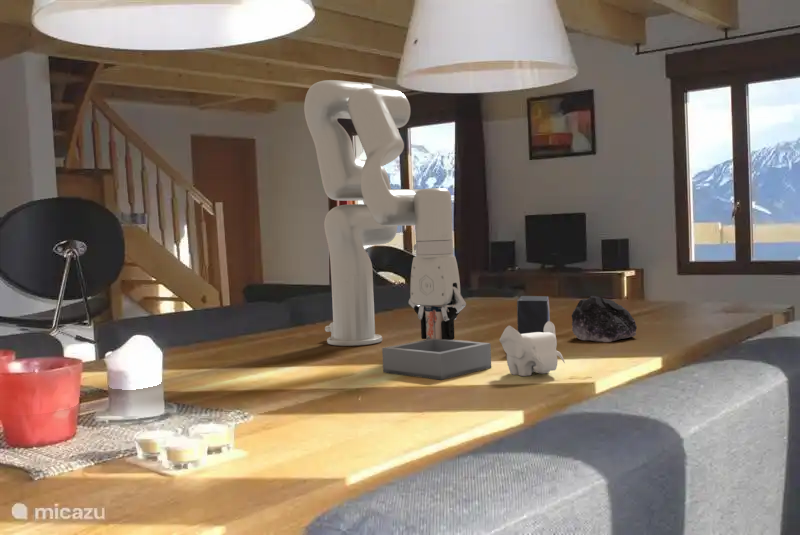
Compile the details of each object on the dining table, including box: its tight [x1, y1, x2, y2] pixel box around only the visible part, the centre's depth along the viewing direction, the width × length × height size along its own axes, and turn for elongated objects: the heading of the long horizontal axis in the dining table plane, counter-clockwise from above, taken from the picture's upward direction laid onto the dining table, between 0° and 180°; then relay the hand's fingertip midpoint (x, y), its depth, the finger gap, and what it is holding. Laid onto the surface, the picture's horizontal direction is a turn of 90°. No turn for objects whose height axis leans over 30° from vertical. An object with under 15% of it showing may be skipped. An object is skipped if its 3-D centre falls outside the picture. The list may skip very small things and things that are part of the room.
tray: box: [381, 338, 492, 381], centre depth 158 cm, size 14×14×4 cm
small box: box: [516, 295, 551, 334], centre depth 181 cm, size 11×6×10 cm, turn 168°
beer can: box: [425, 304, 449, 340], centre depth 176 cm, size 5×5×12 cm
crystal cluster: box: [571, 295, 637, 343], centre depth 191 cm, size 13×14×10 cm
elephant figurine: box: [499, 320, 566, 377], centre depth 150 cm, size 10×12×9 cm
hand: (437, 338), depth 176 cm, fingers closed on beer can, 4 cm apart
